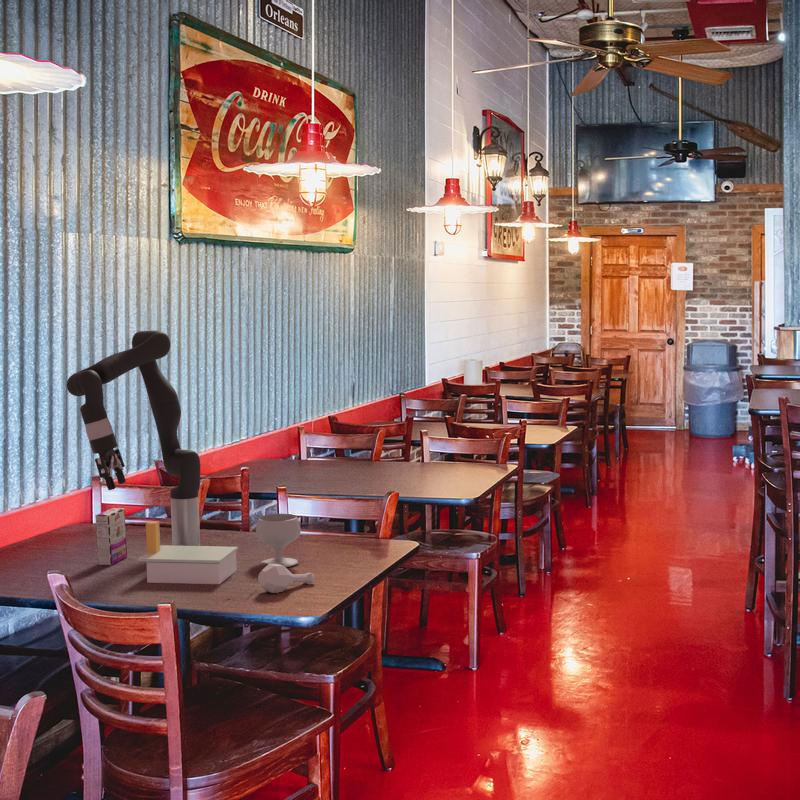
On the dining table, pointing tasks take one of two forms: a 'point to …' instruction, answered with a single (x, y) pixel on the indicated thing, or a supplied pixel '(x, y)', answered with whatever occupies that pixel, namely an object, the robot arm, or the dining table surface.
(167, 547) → the lid
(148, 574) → the tub
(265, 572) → the chicken leg
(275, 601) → the dining table surface
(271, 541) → the chalice
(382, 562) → the dining table surface
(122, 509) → the candy bar box
